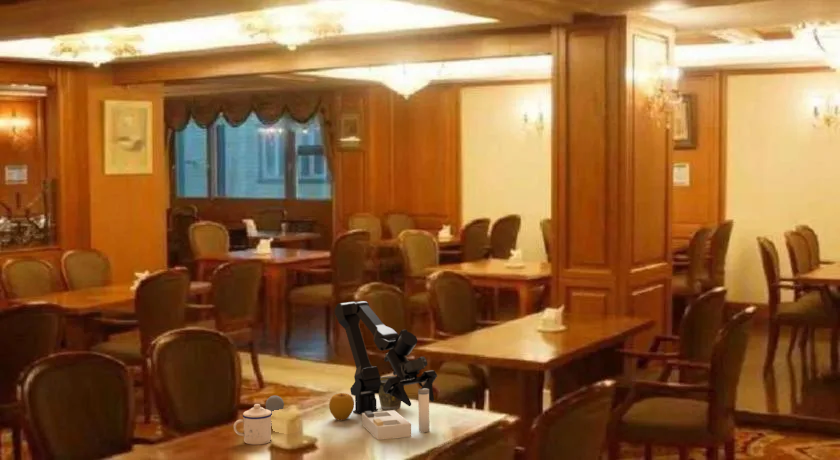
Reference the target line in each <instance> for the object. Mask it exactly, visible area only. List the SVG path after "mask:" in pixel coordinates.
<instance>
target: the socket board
mask: <svg viewBox="0 0 840 460" xmlns="http://www.w3.org/2000/svg"><path fill="white" fill-rule="evenodd" d="M361 417H362V418H361V419H362V420H361V421H362V422H361V424H362V425H361V426H363V428H365V429H366V430H367V431H368V432H369V433H370V434H371V435H372V437H374V438H375V439H376V440H377V441H378V440H390V439H399V438H411V437H412V424H411V422H409V421H408V420H407V419H406V418H405V417H403V416H402V415H401V414H400V413H399V412H397V411H396V409H393V410H382V411H375V412H371V411H365V413H361Z"/></svg>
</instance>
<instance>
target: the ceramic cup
mask: <svg viewBox="0 0 840 460" xmlns="http://www.w3.org/2000/svg"><path fill="white" fill-rule="evenodd" d="M396 376H397V375H391V376H390V375H389V376H380V377H381V378H380V379H381V385H380V390H379V393H377V394H378V399H379V405H380V407H381V409H383V410H387V409H393V410H397V408H398V409H400V408H401V405H402V401H401V400H399V399H397V398H396V397H394V396H392V395H391V396H390V395H389V394H385V392H384V390H383V386H384V384H385V383H386V381H387V380H388V378H391V377H396ZM399 407H400V408H399Z"/></svg>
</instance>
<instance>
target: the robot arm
mask: <svg viewBox="0 0 840 460" xmlns="http://www.w3.org/2000/svg"><path fill="white" fill-rule="evenodd" d="M334 315H335V317H336V319H337V322H338V324H340V326H341V327H342V328H343V329H344V330H345V333H346V337H347V341H348V344H349V347H350V350H351V353H352V356H353V360H354V365H355V367H356V369H355V373H354V376H353V377H354V383H353V384H352V385H351V387H350V395H351V396H354V398H355V399H354V408H355V410H354V409H353V411H352V413H356V414H362V413H365V411H371V412H378V410H379V408H377V398H376V394H378V393H379V390H380V385H381V379H380V378H381V377H382V376H381V375H380V373H379V368H378V366H373V365H372V363H371V361H370V359H369V355H368V352H367V348H366V345H365V342H364V338H363V334H362V332H361V328H360V320H361V322H362V323H363V324H364V325H365V327H366V328H367V329H368V330H369V331H370V333H371V334H372V335H373V342H374V344H375V346H376V348H377V349H378V350H379V351H387V350H388V352H387V353H385V355H384V359H383V362H384V363H386V362H387V363H388V362H389V364H390V366H391V368H392V369H393V372H392V374H393V375H392V376H396V377H391V378H388V380H387V381H386V383H385V384H384V386H383V390H384V392H385V394H389V395H390V396H391V395H392V396H394V397H396V398H397V399H399V400H401V403H404V404H405V405H406V406H408V407H411V406H412V402H411V399H410V398H409V396H408V394H407V392H406V391H405V387H404V386H410V385H415V384H418V385H419V387H421V388H427V389H429V401H430V402H434V401H435V397H434V388H433V383H434V382H435V381H436V379H437V378H438V374H437V372H436V371H435V370H433V369H431V370H430V369H429V370H426V371H423V372H422V374H421V375H420V376H418V375H419V374H420V371H421V370H424V369H425V367H426V366H428V361H427V359H426V357H425V356H419V358H417V359H412V360H409V359H408V357H407V356H409V355H410V354H411V353H412V351H413V349H414V348H415V346H416V345H417V343H418V338H417V335H415V334H413V333H411V332H409V331H408V330H407V329H401V330H400V331H399V334H398V332H397V331H395V329H393V328H391V327H389V326H386V325H385V324H384V323H383V322H382V321H381V319H380V318H379V316H378V315H376V313H375V311H373V309H372V308H371V307H370V305H369V302H367V301H365V300H361V301H348V302H347V301H346V302H340V303H337V304H336V306H335V308H334Z"/></svg>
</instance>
